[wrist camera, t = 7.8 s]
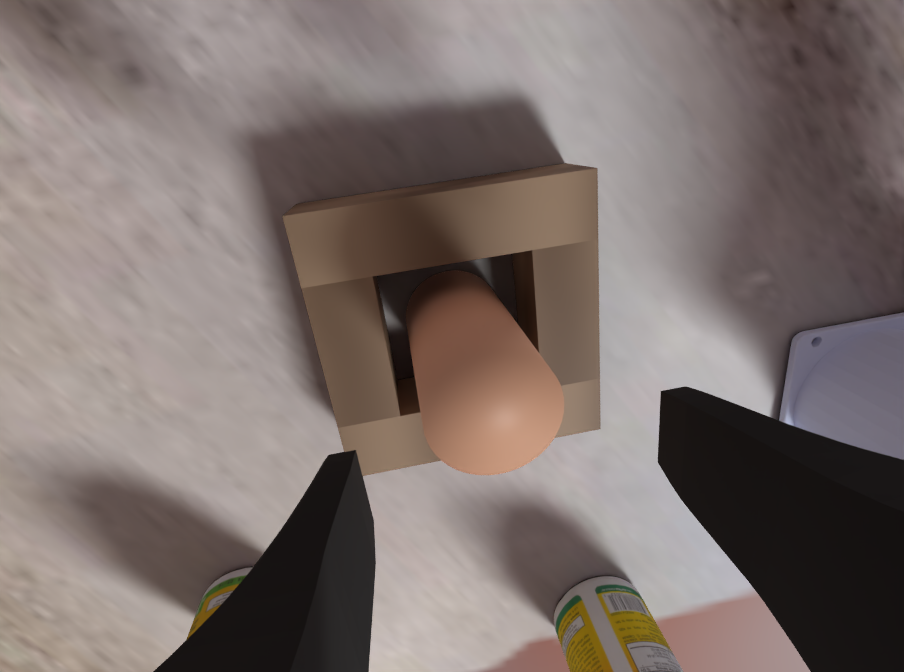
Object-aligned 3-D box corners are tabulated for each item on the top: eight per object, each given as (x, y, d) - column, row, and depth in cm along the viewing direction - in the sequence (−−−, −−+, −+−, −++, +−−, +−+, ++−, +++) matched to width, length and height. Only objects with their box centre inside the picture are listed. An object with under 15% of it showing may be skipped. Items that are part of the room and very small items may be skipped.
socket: (565, 163, 19) (597, 168, 16) (573, 393, 23) (600, 428, 20) (296, 203, 18) (282, 216, 16) (354, 435, 22) (351, 478, 20)
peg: (490, 260, 20) (555, 333, 13) (505, 346, 22) (571, 454, 14) (395, 283, 20) (406, 371, 13) (418, 368, 22) (439, 489, 14)
